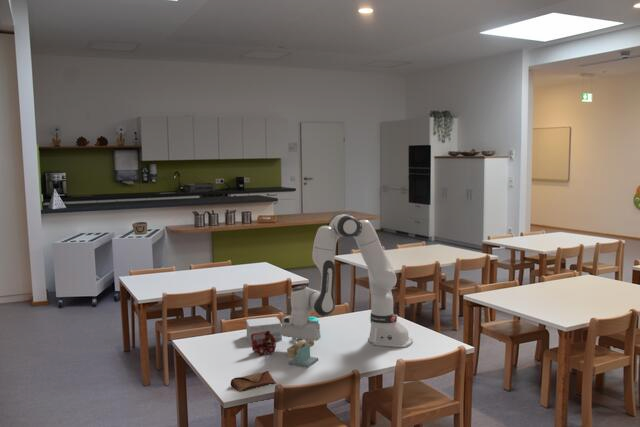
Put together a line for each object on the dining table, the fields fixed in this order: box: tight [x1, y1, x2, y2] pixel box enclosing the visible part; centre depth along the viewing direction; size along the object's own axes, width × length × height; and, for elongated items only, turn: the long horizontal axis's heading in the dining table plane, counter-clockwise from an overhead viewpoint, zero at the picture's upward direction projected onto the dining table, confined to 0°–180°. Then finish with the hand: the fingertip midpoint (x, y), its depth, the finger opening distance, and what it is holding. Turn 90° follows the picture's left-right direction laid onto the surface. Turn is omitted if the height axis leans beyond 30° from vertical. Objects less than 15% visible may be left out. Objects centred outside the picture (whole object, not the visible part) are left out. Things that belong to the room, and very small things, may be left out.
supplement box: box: [245, 316, 283, 344], centre depth 301 cm, size 17×13×9 cm
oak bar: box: [286, 339, 315, 358], centre depth 281 cm, size 20×4×4 cm, turn 152°
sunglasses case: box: [230, 370, 277, 393], centre depth 240 cm, size 18×7×7 cm
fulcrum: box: [288, 345, 319, 369], centre depth 264 cm, size 10×10×7 cm
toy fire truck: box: [251, 331, 277, 357], centre depth 279 cm, size 7×12×10 cm, turn 118°
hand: (301, 346), depth 281 cm, fingers open, 4 cm apart
